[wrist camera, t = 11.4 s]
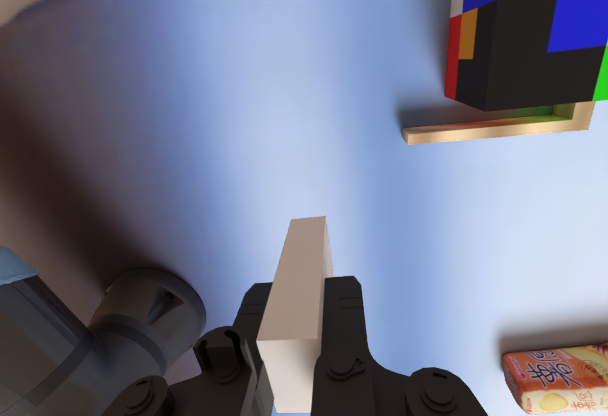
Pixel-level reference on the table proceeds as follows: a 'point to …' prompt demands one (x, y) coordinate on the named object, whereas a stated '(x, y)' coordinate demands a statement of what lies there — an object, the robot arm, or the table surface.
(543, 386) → the snack package
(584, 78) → the puzzle toy
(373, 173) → the table surface
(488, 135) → the wooden open frame
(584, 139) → the table surface
